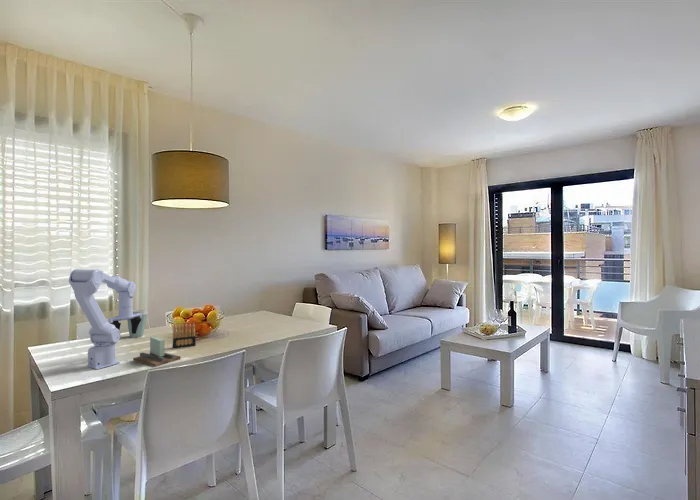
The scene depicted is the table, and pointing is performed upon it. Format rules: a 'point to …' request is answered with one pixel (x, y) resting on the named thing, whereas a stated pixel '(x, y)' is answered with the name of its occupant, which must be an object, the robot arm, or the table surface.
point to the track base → (155, 359)
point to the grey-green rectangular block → (157, 346)
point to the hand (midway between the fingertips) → (125, 335)
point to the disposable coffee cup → (140, 327)
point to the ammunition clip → (184, 336)
